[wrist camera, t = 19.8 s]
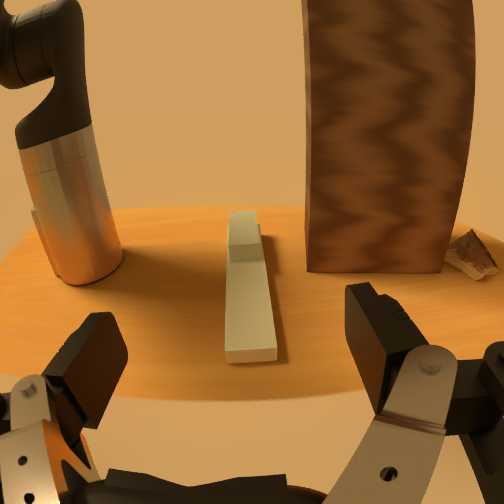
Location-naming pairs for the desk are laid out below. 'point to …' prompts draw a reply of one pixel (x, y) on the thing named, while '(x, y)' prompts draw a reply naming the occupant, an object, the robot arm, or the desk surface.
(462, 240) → the shard
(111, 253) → the robot arm
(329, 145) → the walnut stand
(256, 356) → the cream plank with block
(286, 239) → the desk surface
